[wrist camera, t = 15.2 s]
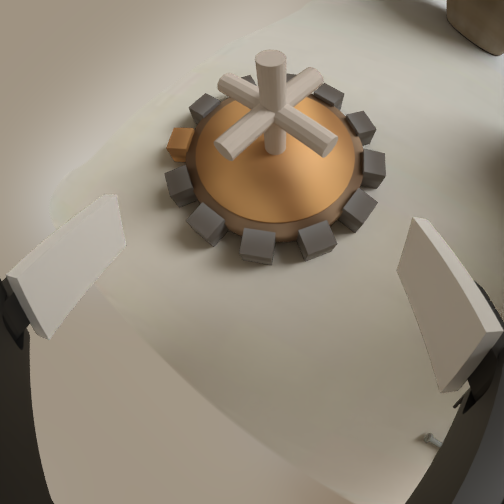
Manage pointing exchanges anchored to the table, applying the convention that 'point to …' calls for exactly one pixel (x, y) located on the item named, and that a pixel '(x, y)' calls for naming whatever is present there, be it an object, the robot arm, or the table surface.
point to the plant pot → (479, 22)
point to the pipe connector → (273, 109)
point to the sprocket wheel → (275, 178)
